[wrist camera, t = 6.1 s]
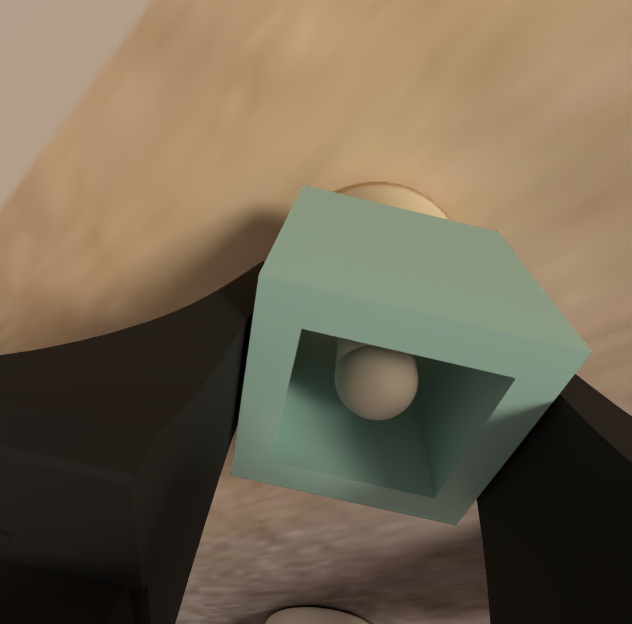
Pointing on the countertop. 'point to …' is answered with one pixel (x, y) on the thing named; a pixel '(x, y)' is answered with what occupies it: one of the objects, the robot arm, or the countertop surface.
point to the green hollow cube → (401, 335)
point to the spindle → (373, 361)
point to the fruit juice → (313, 616)
